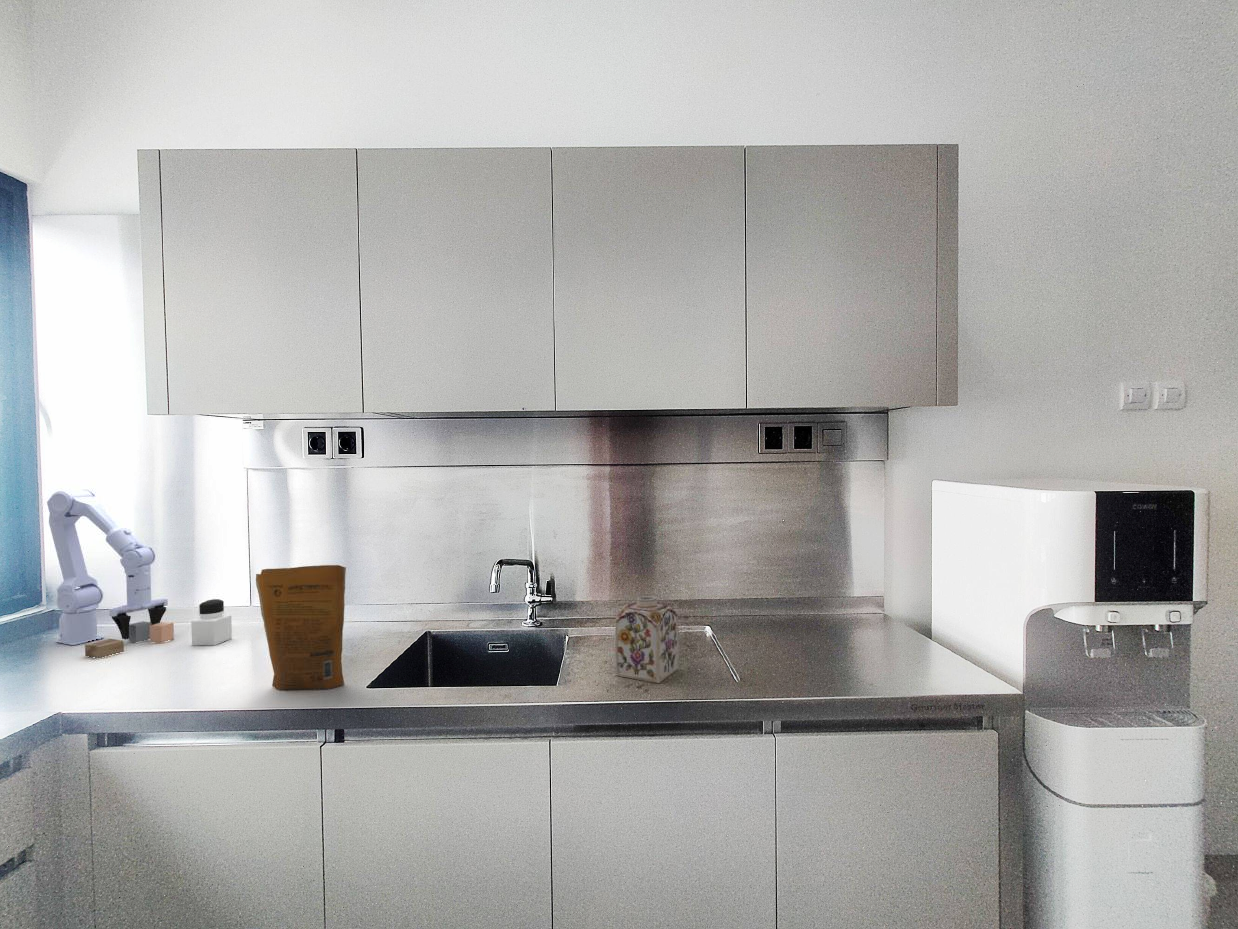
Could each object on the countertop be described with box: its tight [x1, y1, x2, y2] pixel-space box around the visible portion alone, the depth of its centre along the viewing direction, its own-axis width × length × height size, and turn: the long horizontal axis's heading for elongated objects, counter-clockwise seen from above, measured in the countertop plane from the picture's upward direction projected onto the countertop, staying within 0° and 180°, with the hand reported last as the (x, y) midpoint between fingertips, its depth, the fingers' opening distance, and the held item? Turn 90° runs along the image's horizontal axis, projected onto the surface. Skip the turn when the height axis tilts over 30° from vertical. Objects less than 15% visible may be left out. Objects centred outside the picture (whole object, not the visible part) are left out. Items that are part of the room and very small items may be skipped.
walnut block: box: [84, 638, 125, 659], centre depth 174 cm, size 6×6×4 cm
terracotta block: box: [149, 621, 175, 644], centre depth 187 cm, size 4×4×5 cm
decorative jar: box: [614, 595, 680, 684], centre depth 153 cm, size 12×12×18 cm
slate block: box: [128, 620, 151, 643], centre depth 188 cm, size 4×4×5 cm
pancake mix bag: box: [255, 564, 347, 691], centre depth 146 cm, size 7×19×28 cm, turn 91°
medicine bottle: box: [190, 598, 233, 646], centre depth 185 cm, size 7×7×12 cm
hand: (140, 635), depth 188 cm, fingers open, 7 cm apart
